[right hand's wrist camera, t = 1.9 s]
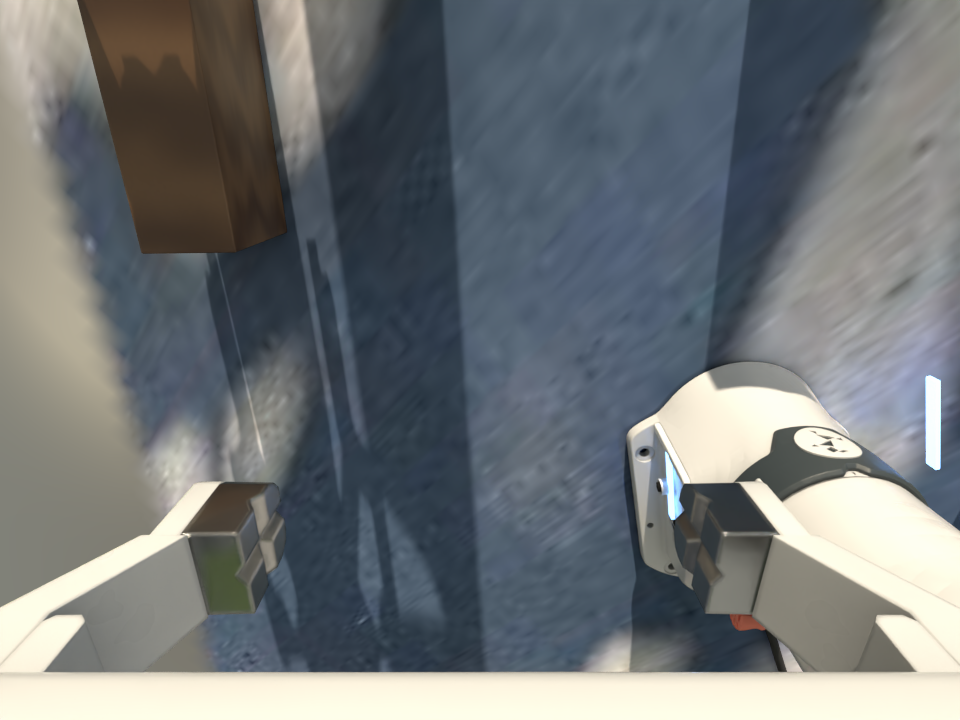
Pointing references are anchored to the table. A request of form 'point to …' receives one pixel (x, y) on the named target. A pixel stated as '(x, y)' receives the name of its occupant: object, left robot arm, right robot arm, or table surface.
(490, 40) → the table surface
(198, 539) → the right robot arm
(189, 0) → the box
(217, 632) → the table surface
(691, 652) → the table surface
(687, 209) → the table surface
